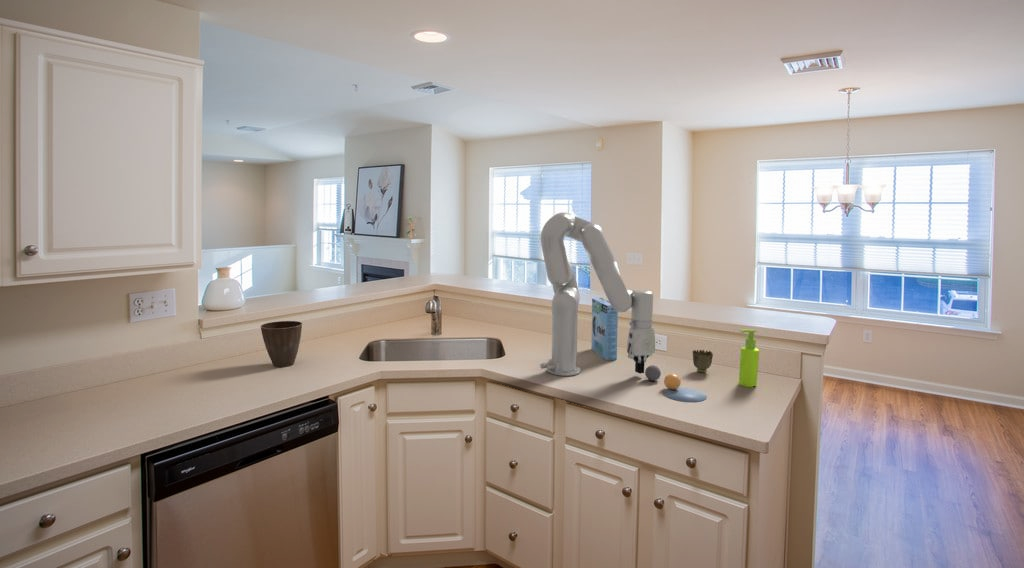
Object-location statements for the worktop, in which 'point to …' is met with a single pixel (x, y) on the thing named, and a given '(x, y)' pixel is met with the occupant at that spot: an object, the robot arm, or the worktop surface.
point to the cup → (702, 360)
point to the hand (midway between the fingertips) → (639, 372)
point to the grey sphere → (652, 373)
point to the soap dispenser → (749, 361)
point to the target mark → (685, 395)
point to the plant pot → (282, 341)
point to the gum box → (604, 329)
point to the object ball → (672, 381)
